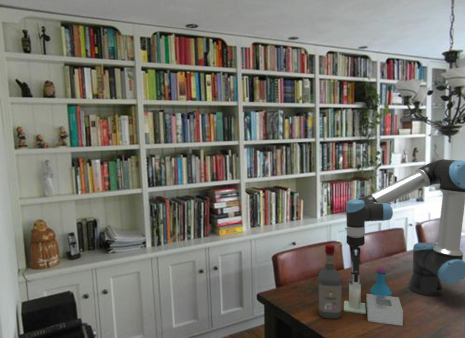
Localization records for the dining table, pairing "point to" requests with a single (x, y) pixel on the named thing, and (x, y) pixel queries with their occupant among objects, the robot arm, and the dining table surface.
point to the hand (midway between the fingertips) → (355, 282)
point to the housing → (384, 309)
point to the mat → (348, 309)
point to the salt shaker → (354, 295)
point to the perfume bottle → (380, 284)
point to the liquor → (329, 288)
